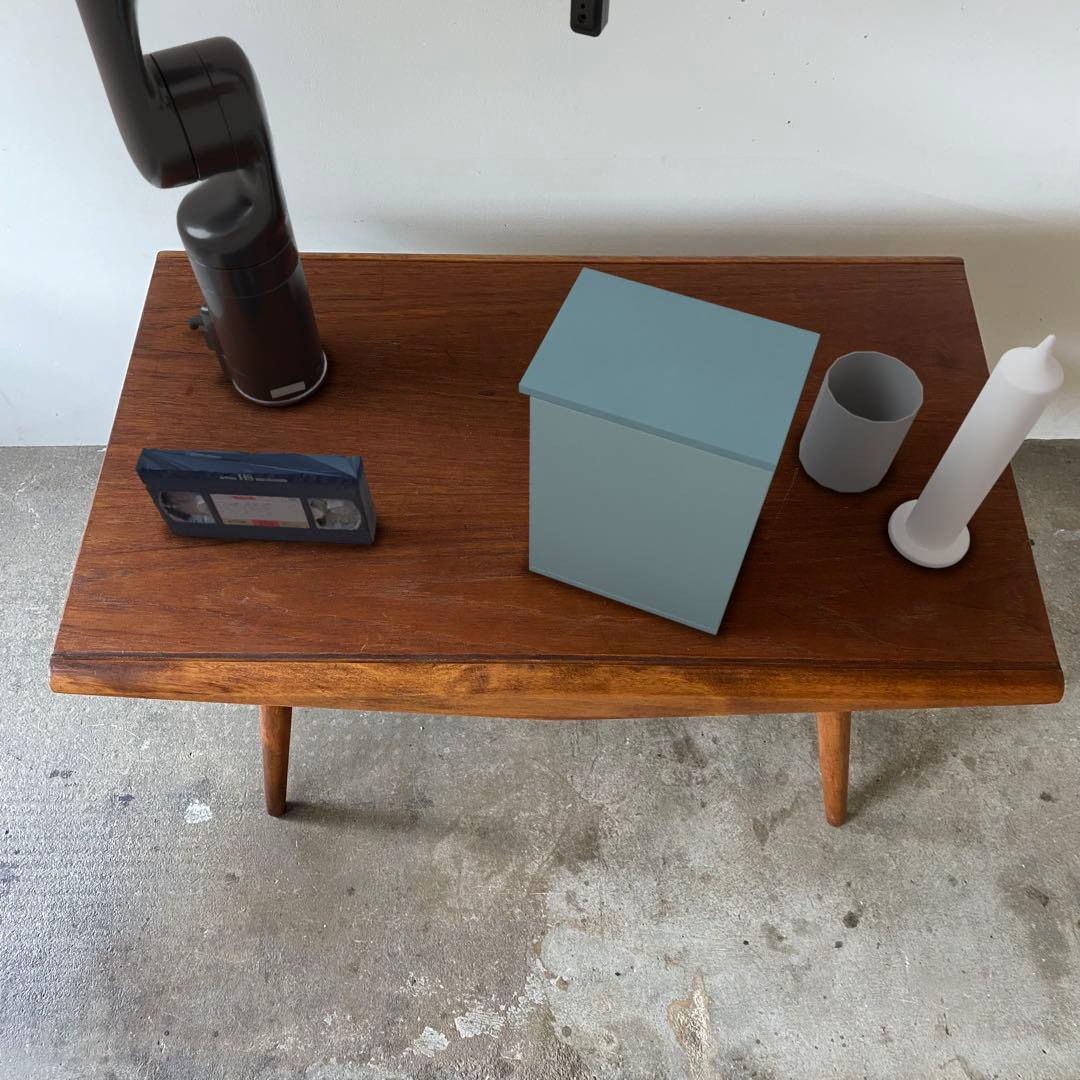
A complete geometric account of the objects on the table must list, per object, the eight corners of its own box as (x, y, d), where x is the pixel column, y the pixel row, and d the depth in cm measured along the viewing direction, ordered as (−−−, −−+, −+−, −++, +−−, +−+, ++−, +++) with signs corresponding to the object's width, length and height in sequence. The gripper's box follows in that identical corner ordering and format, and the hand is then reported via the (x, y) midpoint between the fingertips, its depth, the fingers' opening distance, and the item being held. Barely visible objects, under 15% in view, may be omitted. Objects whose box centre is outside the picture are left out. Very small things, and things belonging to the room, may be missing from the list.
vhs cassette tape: (170, 536, 86) (132, 468, 78) (179, 509, 88) (143, 440, 79) (373, 549, 86) (357, 483, 77) (379, 522, 87) (363, 454, 79)
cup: (896, 441, 93) (933, 369, 85) (875, 504, 89) (911, 435, 81) (812, 413, 95) (839, 340, 87) (787, 473, 91) (814, 402, 82)
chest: (528, 570, 85) (529, 396, 66) (579, 465, 91) (593, 279, 72) (715, 635, 81) (774, 473, 62) (754, 521, 88) (817, 342, 69)
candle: (952, 581, 85) (1091, 389, 64) (875, 545, 87) (987, 347, 66) (977, 525, 88) (1118, 324, 67) (903, 491, 90) (1018, 286, 69)
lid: (518, 392, 66) (518, 384, 65) (583, 275, 72) (583, 266, 71) (774, 472, 62) (777, 465, 62) (817, 342, 69) (820, 333, 68)
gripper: (583, -348, 54) (571, -28, 69) (490, -266, 48) (498, 69, 62) (711, -329, 53) (671, -7, 67) (634, -242, 46) (608, 95, 61)
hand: (588, 29), depth 65 cm, fingers closed
